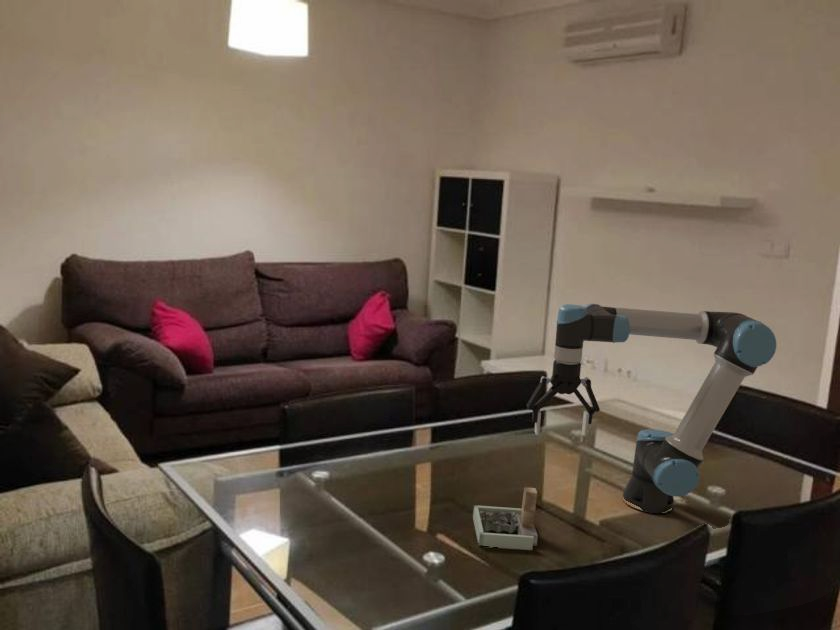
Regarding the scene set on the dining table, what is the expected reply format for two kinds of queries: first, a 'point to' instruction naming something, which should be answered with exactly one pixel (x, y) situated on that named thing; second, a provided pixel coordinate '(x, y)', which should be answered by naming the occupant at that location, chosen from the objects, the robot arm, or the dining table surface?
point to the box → (500, 539)
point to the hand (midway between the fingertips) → (560, 434)
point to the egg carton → (498, 521)
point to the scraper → (527, 515)
